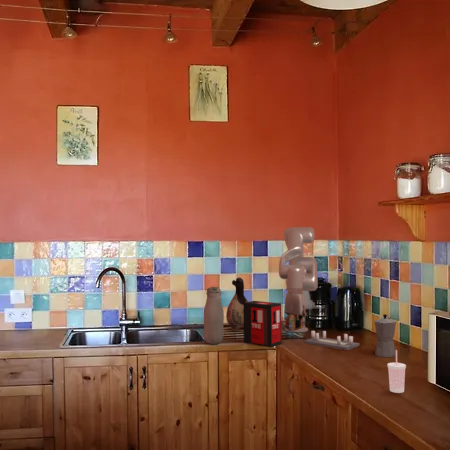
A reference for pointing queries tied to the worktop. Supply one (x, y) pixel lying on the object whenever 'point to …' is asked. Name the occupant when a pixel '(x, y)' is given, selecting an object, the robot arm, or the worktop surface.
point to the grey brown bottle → (213, 316)
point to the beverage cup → (396, 376)
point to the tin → (293, 322)
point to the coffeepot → (385, 337)
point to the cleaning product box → (262, 323)
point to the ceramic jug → (237, 307)
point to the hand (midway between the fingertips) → (295, 326)
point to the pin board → (332, 341)
